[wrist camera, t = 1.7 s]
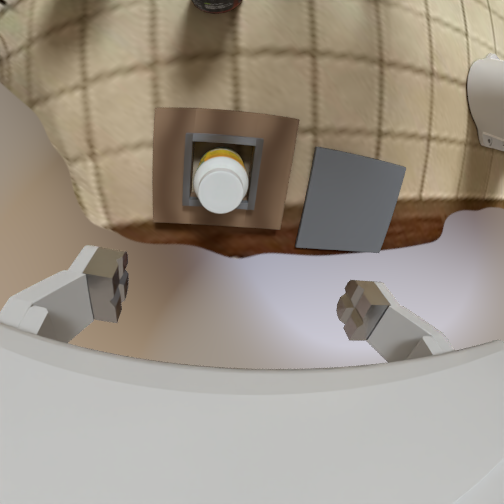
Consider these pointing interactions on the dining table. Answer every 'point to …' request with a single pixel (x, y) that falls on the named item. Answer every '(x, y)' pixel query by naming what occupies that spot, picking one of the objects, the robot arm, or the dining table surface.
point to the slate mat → (348, 202)
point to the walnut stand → (221, 131)
